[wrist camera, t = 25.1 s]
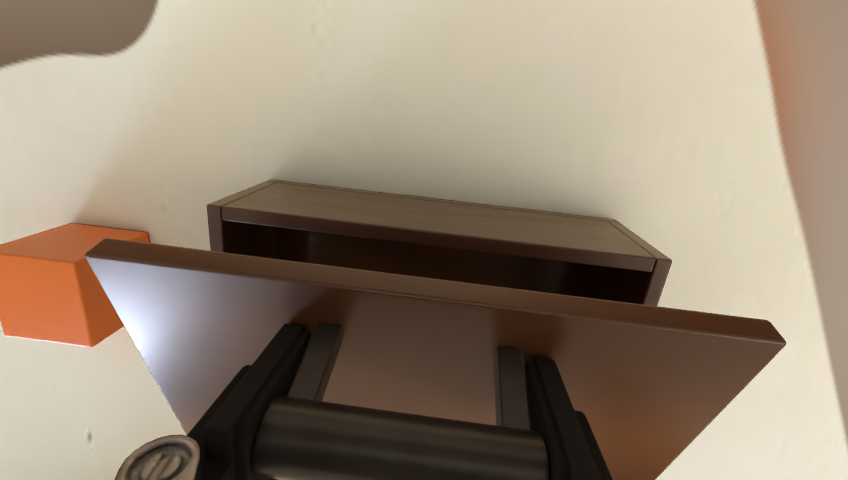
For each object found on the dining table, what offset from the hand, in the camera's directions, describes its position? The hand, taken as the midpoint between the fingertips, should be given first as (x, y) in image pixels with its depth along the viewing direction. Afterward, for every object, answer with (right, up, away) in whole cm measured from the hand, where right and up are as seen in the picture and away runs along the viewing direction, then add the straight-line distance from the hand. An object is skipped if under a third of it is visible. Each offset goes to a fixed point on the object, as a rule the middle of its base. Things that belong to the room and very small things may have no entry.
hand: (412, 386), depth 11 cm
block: (-18, +3, +12) cm, 22 cm away
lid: (0, -3, +4) cm, 5 cm away
